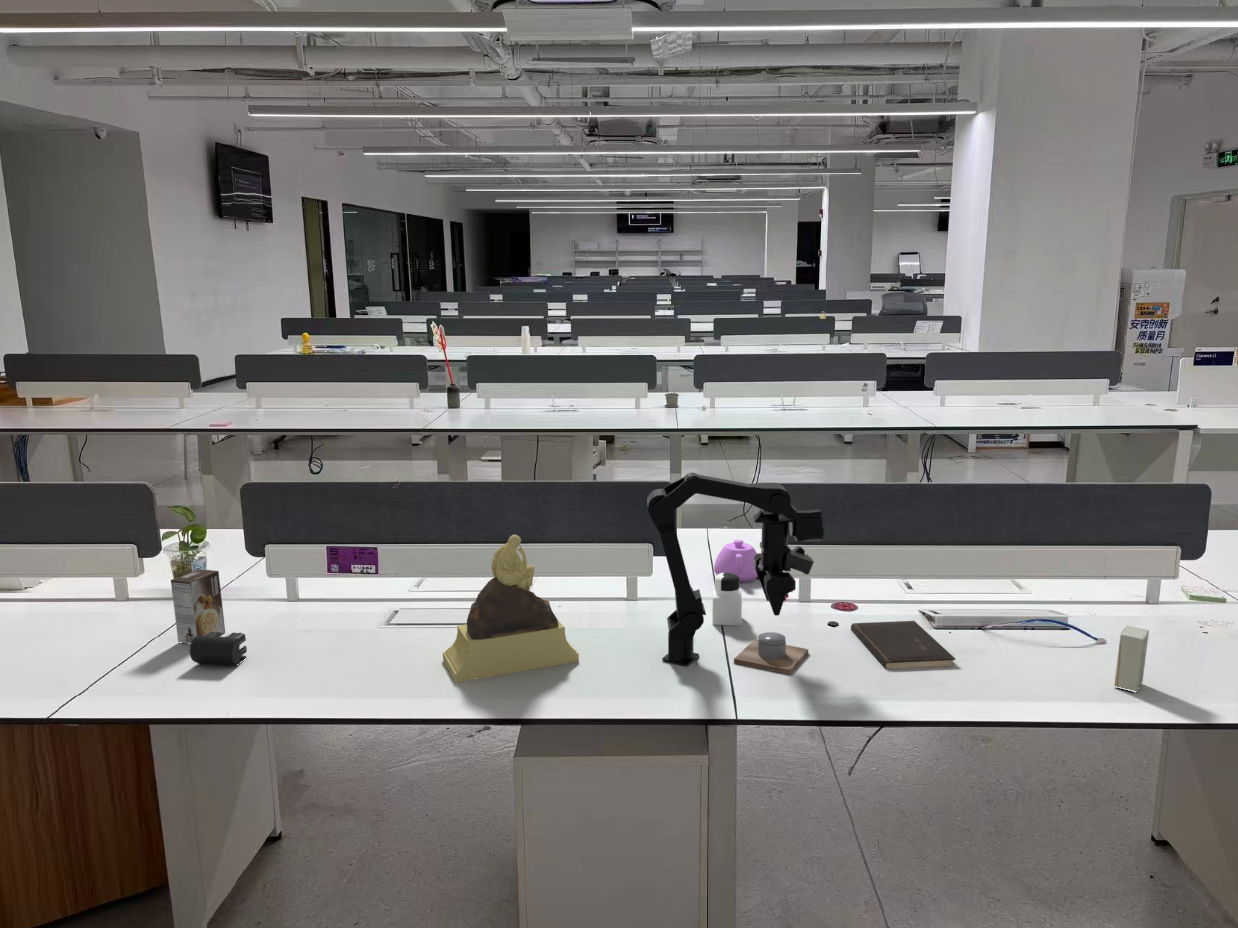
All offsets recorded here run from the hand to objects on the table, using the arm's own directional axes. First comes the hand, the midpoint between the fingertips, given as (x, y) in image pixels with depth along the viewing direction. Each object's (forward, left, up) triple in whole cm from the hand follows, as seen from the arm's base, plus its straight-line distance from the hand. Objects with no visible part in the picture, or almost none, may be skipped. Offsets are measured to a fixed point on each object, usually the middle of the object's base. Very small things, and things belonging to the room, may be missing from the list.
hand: (772, 607), depth 207 cm
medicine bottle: (+17, +18, -12) cm, 28 cm away
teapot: (+52, +29, -12) cm, 61 cm away
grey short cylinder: (0, 0, -11) cm, 11 cm away
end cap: (-61, +109, -12) cm, 126 cm away
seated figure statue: (-29, +52, -12) cm, 60 cm away
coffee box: (-53, +126, -12) cm, 137 cm away
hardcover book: (+20, -24, -13) cm, 34 cm away
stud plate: (0, 0, -12) cm, 12 cm away
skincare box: (+21, -71, -12) cm, 75 cm away
